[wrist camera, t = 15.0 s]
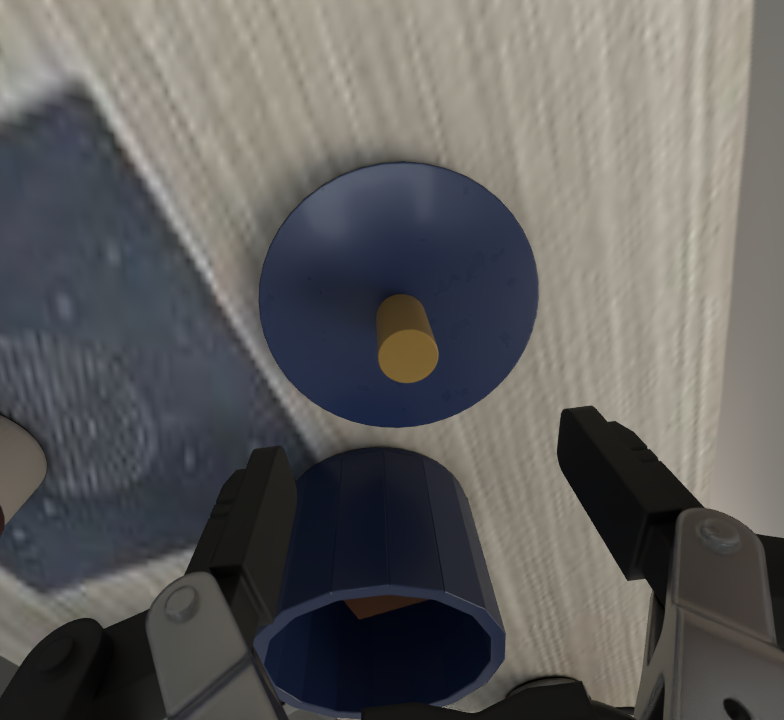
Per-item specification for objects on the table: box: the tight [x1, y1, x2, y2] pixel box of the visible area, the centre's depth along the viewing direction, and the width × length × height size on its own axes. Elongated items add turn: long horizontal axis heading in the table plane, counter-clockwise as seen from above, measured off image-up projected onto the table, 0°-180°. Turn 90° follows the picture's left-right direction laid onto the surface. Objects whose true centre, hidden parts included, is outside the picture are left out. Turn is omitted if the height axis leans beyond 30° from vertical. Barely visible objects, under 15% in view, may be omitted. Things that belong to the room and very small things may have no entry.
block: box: [343, 595, 429, 620], centre depth 27 cm, size 5×5×5 cm
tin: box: [253, 447, 506, 719], centre depth 25 cm, size 14×14×10 cm
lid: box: [259, 161, 539, 428], centre depth 19 cm, size 15×15×6 cm
